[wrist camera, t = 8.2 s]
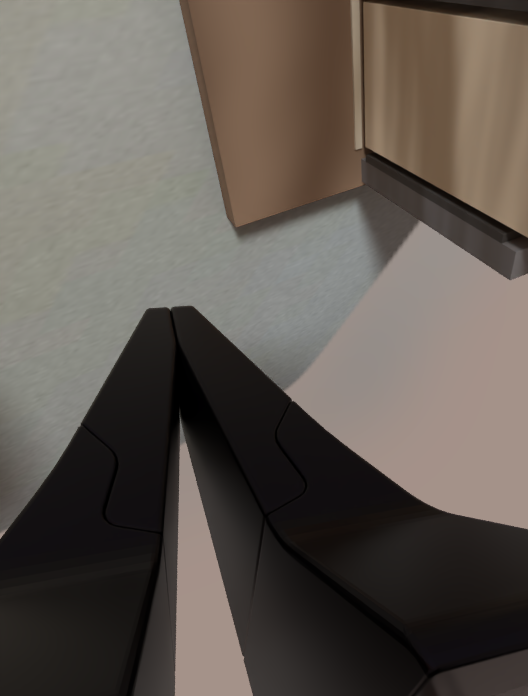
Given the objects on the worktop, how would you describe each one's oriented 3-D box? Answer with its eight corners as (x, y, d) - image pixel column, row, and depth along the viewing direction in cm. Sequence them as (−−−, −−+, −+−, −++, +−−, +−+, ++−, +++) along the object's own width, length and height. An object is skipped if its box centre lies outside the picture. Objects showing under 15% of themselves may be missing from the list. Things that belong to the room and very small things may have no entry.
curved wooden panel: (365, 146, 20) (588, 271, 13) (363, 2, 17) (664, 47, 9) (437, 123, 21) (693, 229, 13) (449, -20, 18) (801, 4, 10)
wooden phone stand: (227, 216, 22) (336, 353, 14) (173, -26, 16) (309, -5, 9) (386, 164, 23) (560, 264, 16) (389, -75, 17) (666, -94, 10)
